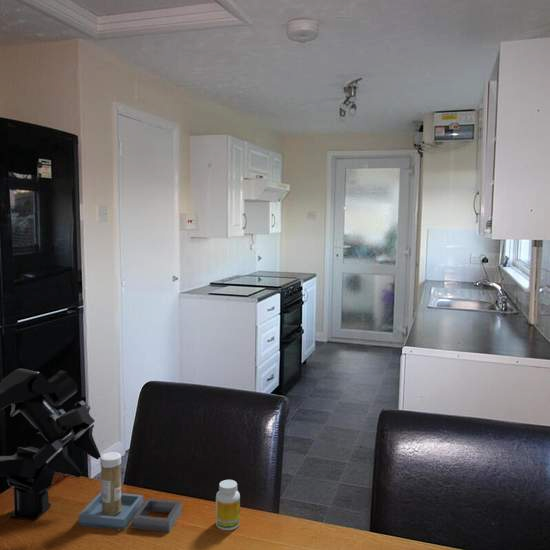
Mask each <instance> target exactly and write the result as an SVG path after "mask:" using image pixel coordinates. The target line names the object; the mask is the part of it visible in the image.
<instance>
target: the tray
mask: <svg viewBox="0 0 550 550" xmlns="http://www.w3.org/2000/svg"><path fill="white" fill-rule="evenodd" d="M143 503H144V495H141V494H133V493H124V492H123V493H122V492H121V507H122V510H121V512H120V513H119V514H117V515H114V516H105V515H103V514H102V496H101V491H99V493H98V494H97V495H96V496H95V497H94V498H93V499H92V500H91V501H90V502H89V504H88V505H87V506H86V507H84V509H83V510H82V511H80V513H79V514H78V526H80V527H86V528H87V527H88V528H89V527H90V528H96V527H97V528H99V529H105V528H110V529H109V530H115V529H120V530H119V531H126V529H127V528H126V527H129V525H130V524H131V522H133V520H132V519H133V517H134V515H135V514H136V513H137V511H138V510H139V509H140V507H141V506H142V505H143ZM129 523H130V524H129Z"/></svg>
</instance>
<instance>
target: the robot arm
mask: <svg viewBox="0 0 550 550" xmlns="http://www.w3.org/2000/svg"><path fill="white" fill-rule="evenodd" d="M77 392H78V384H77V383H76V382H75V380H74V378H72V377H71V376H70V375H68V371H65V370H59V371H57V372H55V375H52V377H50V378H49V379H46V378H45V375H44V374H43V373H42V372H40V371H34V370H30V369H26V368H16V369H14V370H13V371H11V372H10V373H9V374H7V375H6V376H5V377H4V378H2V380H1V382H0V411H2V410H3V409H5V408H7V407H8V406H11V410H10V414H9V415H10V417H12V418H13V417H14V416H15V415H17V414H18V413H20V414H22V415H23V416H24V418H26V419H27V421H29V423H30V424H31V425H32V427H34V428H35V429H34V430H33V434H34V435H36V436H37V435H38V434H40V435H41V436H42V437H43V438H44V439H45V440H46V441H47V442H46V443H45V444H44V445H43V446H42V447H41V448H37V447H34V446H28V447H20V446H17V448H16V449H17V451H16V453H14V454H13V455H0V478H2V477H6V482H7V484H8V486H9V487H13V502H14V503H13V504H14V505H13V506H14V507H13V508H14V510H13V512H11V513H10V515H9V517H10V518H13V519H14V518H15V519H22V520H23V519H24V520H31V521H36V520H37V519H39V518H40V517H41V516H42V515H43V514H44V513H45V512H46V511H47V510H48V509H49V508H50V507H51V506H52V503H50V502H49V491H48V490H47V489H48V488H50V487H51V486H52V484H53V480H54V479H53V478H54V476H55V475H54V474H55V471H58V472H62V473H64V474H66V475H69V476H72V477H76V478H80V477H81V476H82V475H83V473H82V471H81V470H80V468H79V467H78V466H77V465H76V463H75V462H74V461H73V460H72V458H71V457H70V455H69V453H68V451H69V450H68V445H66V446H64V445H65V444H66V443H68V442H69V441H72V442H73V441H74V442H73V443H72V445H73V446H75V447H77V448H78V449H80V450H81V451H83V452H84V453H85V454H87V455H89V456H90V457H92V458H94V459H96V460H99V459H100V458H101V456H102V455H101V453H100V451H99V449H98V446H97V444H96V442H95V439H94V435H93V429H94V427H95V424H94V423H95V419H94V418H93V417H92V416H91V415H90V413H89V412H90V410H91V406H90V405H88V404H87V403H86V401H84V400H80V401H77V402H76V403H74V404H73V408H72V409H71V410H69V411H67V412H66V411H65V410H64V408H60V409H58V410H57V409H56V408H55V407H59V406H61V405H62V404H63V403H64V402H66V401H68V399H70V398H71V397H72V396H74V395H75V394H76V393H77Z"/></svg>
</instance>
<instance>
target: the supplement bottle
mask: <svg viewBox="0 0 550 550" xmlns="http://www.w3.org/2000/svg"><path fill="white" fill-rule="evenodd" d="M218 489H219V490H218V491H217V492H216V495H215V525H216V527H217V529H220V530H223V531H232V530H234V529H237V528H239V526H240V521H241V512H240V511H241V510H240V509H241V495H240V494H241V493H240V492H239V490H238V483H237V481H235V480H233V479H225V480H221V481H220V482H219V485H218Z"/></svg>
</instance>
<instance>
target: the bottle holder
mask: <svg viewBox="0 0 550 550" xmlns="http://www.w3.org/2000/svg"><path fill="white" fill-rule="evenodd" d="M182 505H183V502H182V501H180V500H178V501H177V500H171V499H169V500H168V499H158V498H149V497H147V498H146V499H145V501H143V505H142V506H141V507H140V509H139V510H138V511H137V513H136V514H135V515H134V517H133V520H132V529H134V528H135V530H142V531H143V530H144V531H145V530H146V531H154V532H165V533H170V532H171V530H172V529H173V528H174V526H175V523H176V522H177V520H178V519H179V517H180V515H181V514H182V511H183V508H182ZM149 512H156V513H164V514H165V513H166V514H168V516H167V517H154V516H147V515H148V514H149Z"/></svg>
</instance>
